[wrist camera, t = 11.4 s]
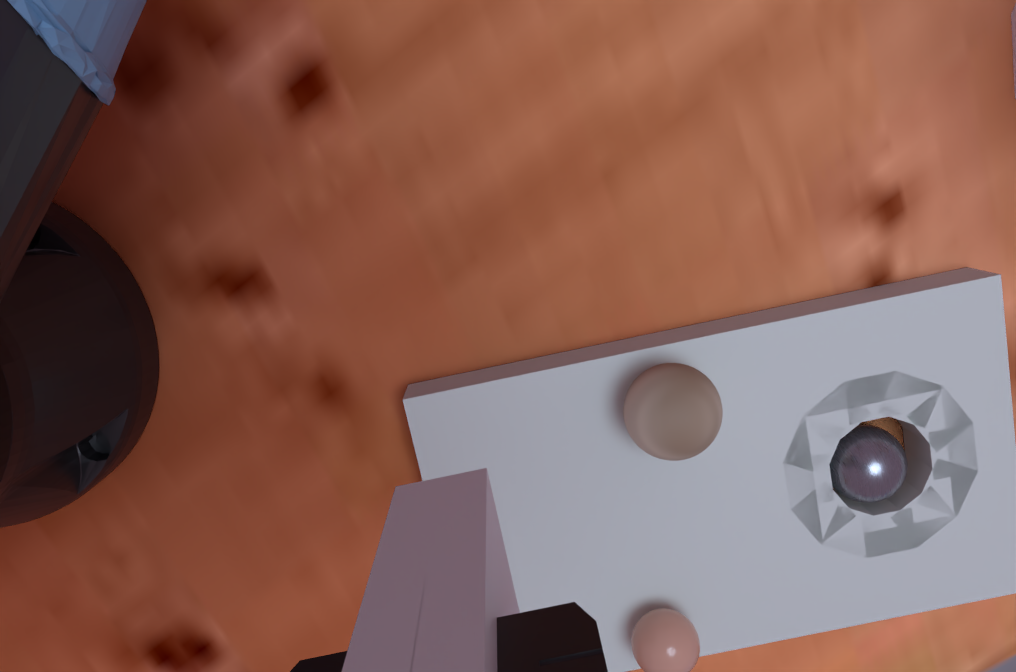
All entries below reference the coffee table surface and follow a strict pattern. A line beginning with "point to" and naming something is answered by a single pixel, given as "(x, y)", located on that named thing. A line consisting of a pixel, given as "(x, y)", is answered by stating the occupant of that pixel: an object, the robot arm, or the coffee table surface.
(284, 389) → the coffee table surface
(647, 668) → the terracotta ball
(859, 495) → the steel ball
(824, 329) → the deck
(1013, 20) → the container
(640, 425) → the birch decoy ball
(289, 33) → the coffee table surface
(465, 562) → the robot arm
